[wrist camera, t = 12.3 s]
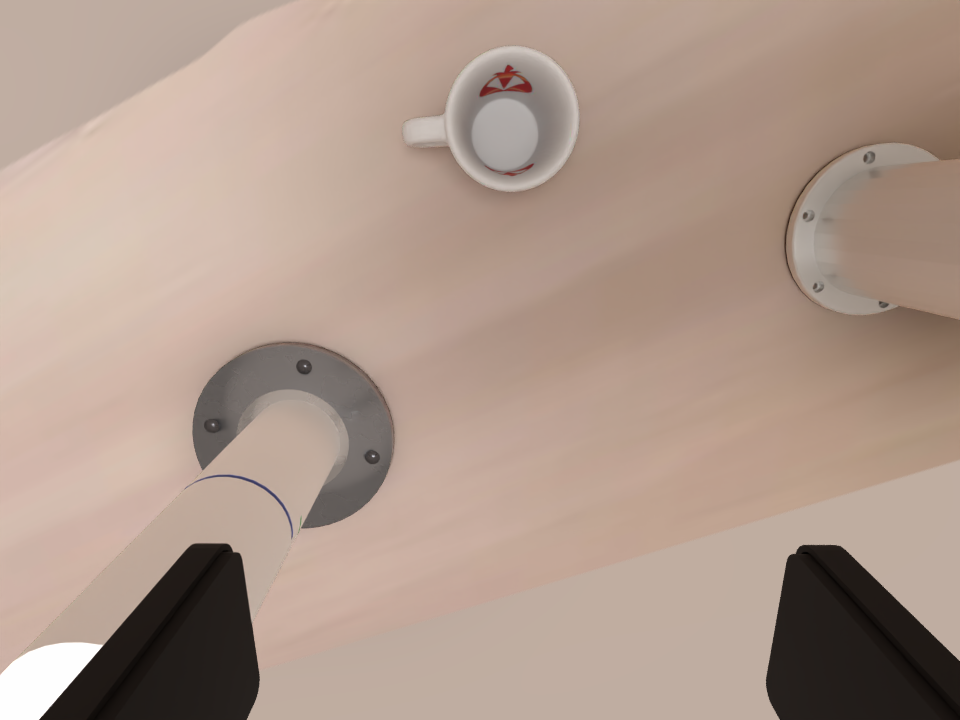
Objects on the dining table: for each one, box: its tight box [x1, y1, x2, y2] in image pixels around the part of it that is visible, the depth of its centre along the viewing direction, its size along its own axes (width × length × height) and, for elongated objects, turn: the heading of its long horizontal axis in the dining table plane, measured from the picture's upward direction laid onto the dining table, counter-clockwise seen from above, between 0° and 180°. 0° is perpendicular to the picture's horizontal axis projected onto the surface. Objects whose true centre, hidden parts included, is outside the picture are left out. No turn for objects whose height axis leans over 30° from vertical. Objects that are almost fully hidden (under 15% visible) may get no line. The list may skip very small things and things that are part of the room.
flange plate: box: [193, 343, 394, 528], centre depth 45 cm, size 16×16×1 cm
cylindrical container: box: [0, 400, 340, 720], centre depth 32 cm, size 7×7×25 cm
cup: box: [402, 45, 580, 192], centre depth 36 cm, size 11×8×8 cm
